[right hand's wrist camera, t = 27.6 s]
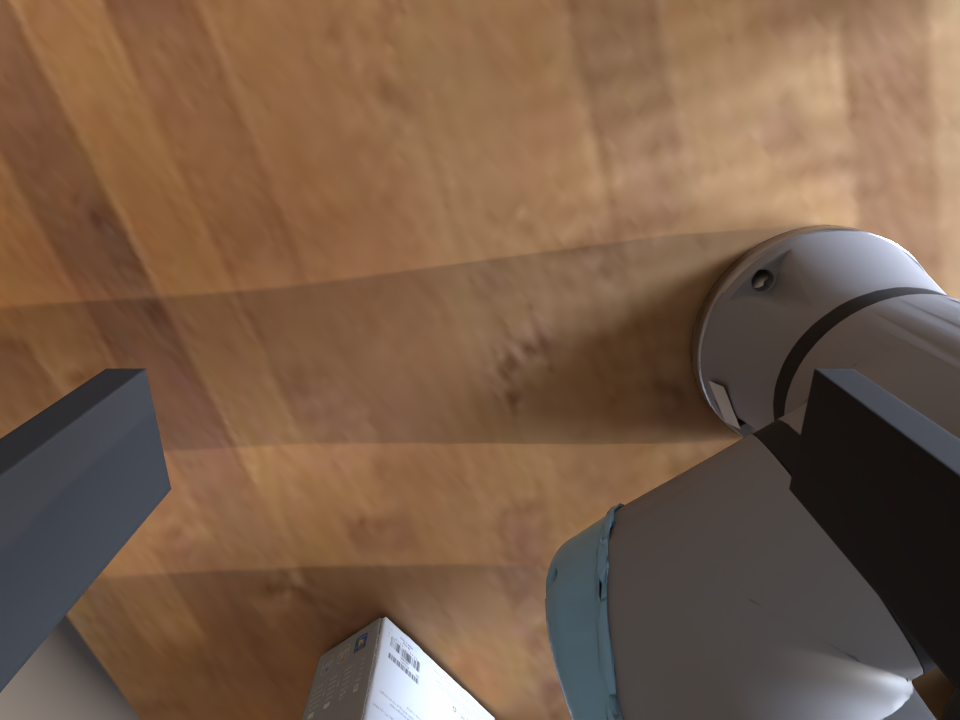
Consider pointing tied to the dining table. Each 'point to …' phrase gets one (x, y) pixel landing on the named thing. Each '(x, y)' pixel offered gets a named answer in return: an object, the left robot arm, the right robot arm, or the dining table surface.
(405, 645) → the hard drive box
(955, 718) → the sphere
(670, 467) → the dining table surface
